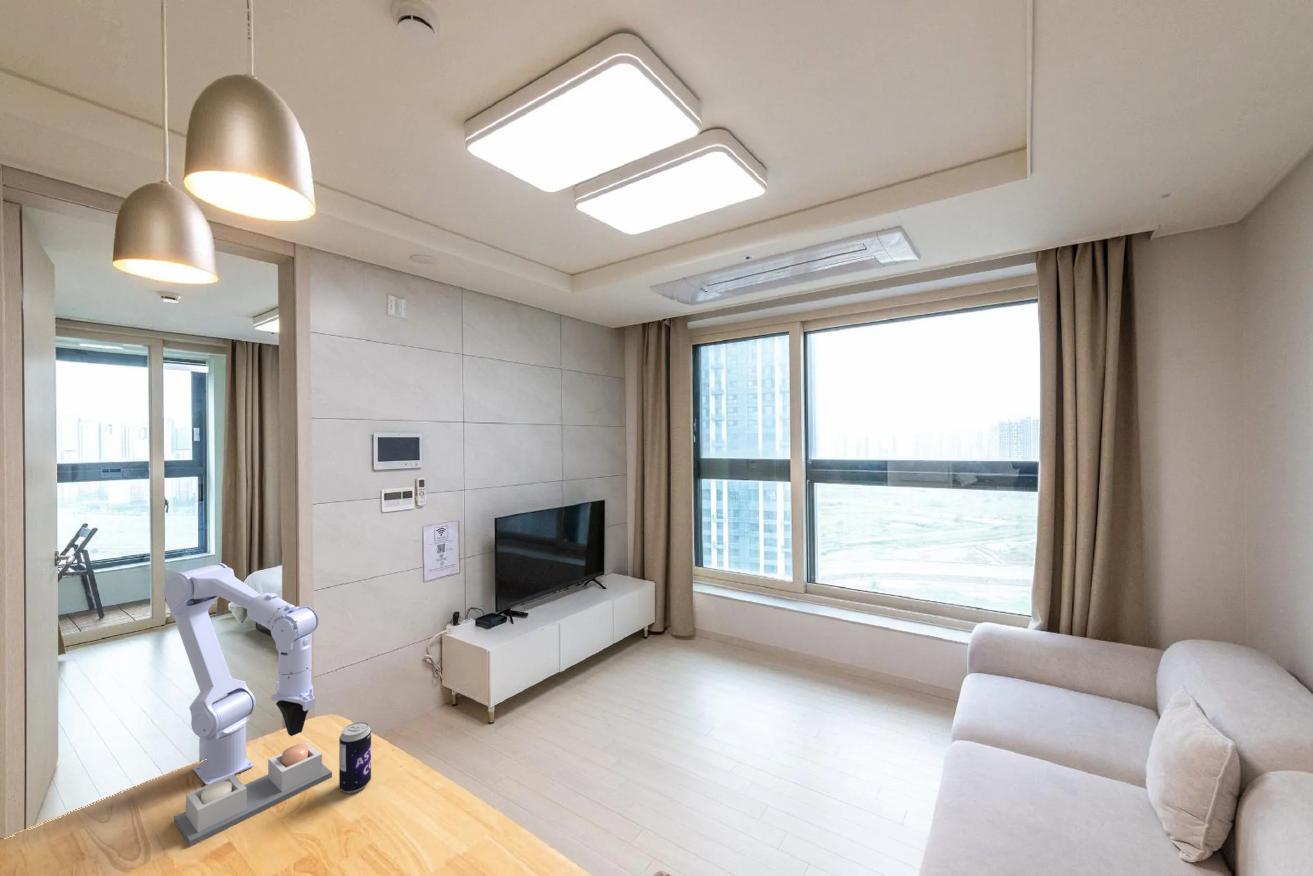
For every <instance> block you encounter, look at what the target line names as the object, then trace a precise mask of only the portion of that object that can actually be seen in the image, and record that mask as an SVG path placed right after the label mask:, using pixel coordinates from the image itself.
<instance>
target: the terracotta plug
mask: <svg viewBox="0 0 1313 876" xmlns="http://www.w3.org/2000/svg"><path fill="white" fill-rule="evenodd" d="M282 753H283V754H282V765H284V766H285V767H289V766H291V765H293V764H295V763H298V762H300V761H302V760H304V759H306V758H308V746H307V745H305V744H304V743H302V744H301V743H299V744H296V745H293V746H290V747H288V748H285V750H283V752H282Z"/></svg>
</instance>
